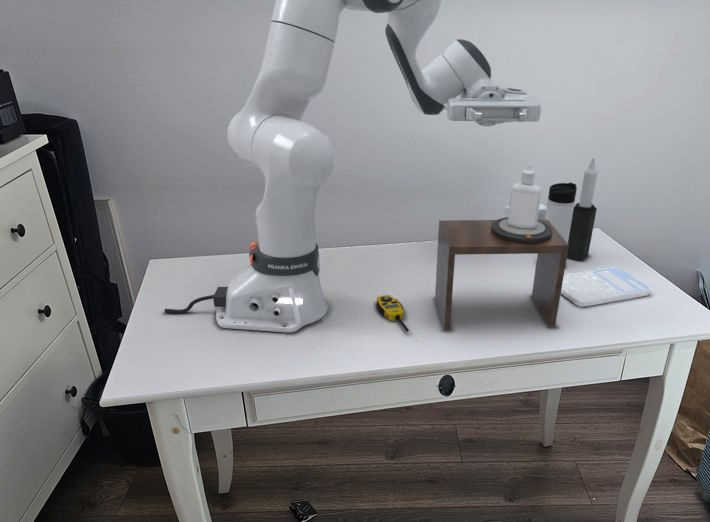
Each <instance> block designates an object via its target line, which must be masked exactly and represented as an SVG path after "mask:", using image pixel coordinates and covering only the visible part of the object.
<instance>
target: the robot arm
mask: <svg viewBox="0 0 710 522" xmlns="http://www.w3.org/2000/svg"><path fill="white" fill-rule="evenodd" d="M441 3H442V0H275V2H274V6H273V9H272V14H271V19H270V24H269V29H268V34H267V38H266V44H265V49H264V53H263V59H262V63H261V67H260V70H259V73H258V76H257V79H256V81H255V83H254V85H253V88H252V89H251V91H250V94H249V96H248V97H247V100H246V102H245V104H244V105H243V107H242V109H241V110H240V111H238V112H237V113H236V114H235V115H234V116H233V117H232V118H231V120H230V122H229V124H228V127H227V131H226V137H227V143H228V146H229V148H230V149H231V152H232V153H234V155H235V156H236V157H237V158H238V159H239V160H240V161H241V162H242V163H243V164H244V165H245V166H247V167H249V168H251V169H253V170H256V171H257V172H259V173H262V175H263V177H264V191H263V197H262V201H260V202H259V203H258V204H257V206H256V208H255V213H254V216H255V223H256V234H257V241H251V243H250V244H249V247H248V250H249V253H248V257H249V265H248V266H247V267H245V268H244V269H243V270H241V271H240V272H239V273H237V274H236V275H234V277H233V278H232V279H231V281H230V282H229V284H228V286H217V288H216V290H215V292H214V293H213V294H209V295H205V296H201V297H198V298H195V299H193V300H192V301H191V302H190V303H189V304H188V305H187V306H186V308H182V309H173V308H164V313H167V314H185V313H187V312H189V311H191V309H192V308H193V307H194V305H196V304H198V303H200V302H203V301H207V300H213V304H214V305H213V307H214V308H216V312H215V320H216V323H217V325H218V326H219V327H220V328H223V329H231V330H246V331H247V330H248V331H262V332H276V333H290V334H291V333H295V332H297V331H298V330H301V328H303V327H305V326H307V325H311V324H313V323H316V322H318V321H319V320H321V319H322V318H323V317H325V315H326V314H327V312H328V309H329V307H328V304H327V301H326V299H325V297H324V292H323V288H322V284H321V283H322V282H321V279H320V278H321V277H320V272H321V262H320V261H321V259H320V250H319V245H318V244H317V239H316V238H317V237H316V218H315V217H316V215H315V214H316V212H315V210H316V203H317V198H318V194H319V191H320V189H321V188H320V187H321V186H322V184H324V183H325V182H327V180H328V179H329V178H330V175H331V174H332V173H333V170H334V167H335V163H336V155H335V154H336V153H335V148H334V145H333V144H332V142H331V140H330V139H329V138H328V136H326V135H325V134H324V133H323V132H321V131H320V130H319V129H318V128H316V127H315V126H313V125H312V124H310V123H309V122H305V121H302V119H303V116H304V114H305V112H306V111H307V109H308V107H309V105H310V104H311V102H313V100H315V98H316V97H318V96H319V95H321V93H322V92H323V91H324V89H325V87H326V83H327V80H328V75H329V70H330V65H331V61H332V57H333V52H334V48H335V43H336V39H337V34H338V27H339V22H340V21H339V20H340V15H341V13H342V11H343V10H344V9H347V10H350V11H358V12H372V13H375V14H384V13H385V14H386V13H387V24H386V26H385V29H384V32H385V37H386V40H387V43H388V45H389V48H390V50H391V53H392V55H393V57H394V59H395V62H396V64H397V66H398V68H399V70H400V72H401V74H402V77H403V79H404V81H405V83H406V87H407V89H408V92H409V96H410V99H411V101H412V103H413V105H414V106H415V107H416V108H417V109H418V111H419V112H421V113H423V115H427V116H439V115H440V114H441V113H442V112H443V111H444V110H446V111H447V119H448V120H449V121H452V122H474V123H476V124H477V125H479V126H482V127H493V126H495V125H500V124H504V123H513V122H514V123H515V122H516V123H517V122H518V123H526V122H530V123H531V122H534V123H536V122H539V121H540V119H541V114H542V103H541V102H540V101H539V100H537V99H536V98H535V97H533V96H532V95H528V91H527V90H524V89H517V88H512V87H511V88H510V87H505V86H502V85H500V84H496V83H494V82H493V81H492V80H491V79H492V67H491V65H490V64H489V62H488V60H487V58H486V57H485V55H484V54H483V53H482V51H481V50H480V49H479V48H478V47H477V46H476V45H475V44H474V43H472V42H471V41H469V40H466V39H463V38H461V39H459V38H458V39H456V40H453V42H452V43H451V44H450V45H448V46H447V47H446V48H444V50H443V51H441V52H440V54H438V55H437V56H436V57H435V58H434V59H433V60H432V61H430V62H429V63H428V64H427V65H426V66H425V67H424V68H421V67H420V64H419V61H418V59H417V50H418V47H419V45H420V43H421V41H422V39H423V38H424V36H425V35H426V33H427V31H428V30H429V29H430V27H431V26H432V25H433V23H434V22H435V20H436V18H437V17H438V14H439V11H440V7H441Z"/></svg>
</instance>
